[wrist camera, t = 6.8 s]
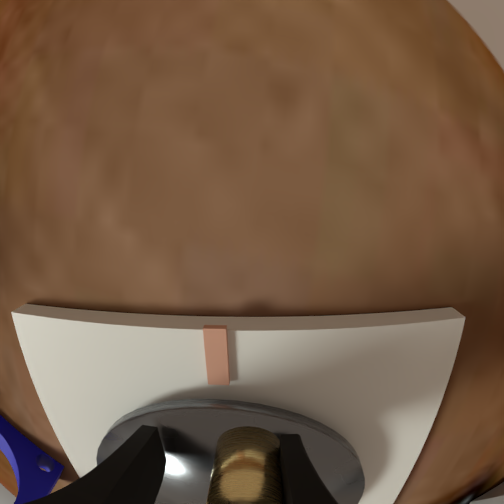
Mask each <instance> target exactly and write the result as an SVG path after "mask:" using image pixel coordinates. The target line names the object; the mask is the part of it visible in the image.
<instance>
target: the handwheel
mask: <svg viewBox="0 0 504 504" xmlns="http://www.w3.org/2000/svg"><path fill="white" fill-rule="evenodd" d="M141 425H147V426H154V427H158V431H159V435H160V438H161V442H162V445H163V449H164V452H165V456H166V459H167V462H166V467H165V472H164V477H163V481H162V484H161V487H160V490H159V493H158V495H157V498H156V501H155V503H154V504H283V487H282V478H281V470H280V449H279V447H280V434H299V435H300V436H301V440H302V443H303V445H304V448H305V450H306V452H307V454H308V456H309V459H310V461H311V463H312V464H313V466H314V468H315V470H316V471H317V473H318V475H319V477H320V478H321V480H322V481H323V483H324V484H325V486H326V487H327V489H328V490H329V492H330V493H331V495H332V496H333V497H334V499H335V500H336V501H337V502H338V504H358V503H359V501H360V499H361V497H362V495H363V492H364V488H365V477H364V473H363V469H362V466H361V463H360V459H359V456H358V455H357V453H356V451H355V449H354V448H353V447H352V445H351V444H350V443H349V442H348V441H347V440H346V439H345V438H344V437H342V436H341V435H340V434H339V433H337V432H336V431H335V430H333V429H331V428H329V427H328V426H326V425H324V424H322V423H321V422H319V421H316V420H314V419H311V418H309V417H306V416H304V415H301V414H298V413H295V412H291V411H288V410H285V409H282V408H277V407H272V406H268V405H263V404H258V403H251V402H244V401H237V400H223V399H184V400H172V401H166V402H161V403H155V404H151V405H148V406H144V407H141V408H138V409H136V410H134V411H132V412H129V413H127V414H125V415H124V416H122V417H121V418H120V419H118V420H117V421H116V422H115V423H114V424H113V425H112V426H111V427H110V428H109V430H108V431H107V433H106V435H105V436H104V438H103V440H102V441H101V444H100V446H99V448H98V451H97V457H96V460H97V465H99V464H100V463H101V462H103V461H104V460H105V459H106V458H107V457H108V456H110V455H111V454H112V453H113V452H114V451H115V450H116V449H117V448H118V447H120V446H121V445H122V444H123V443H124V442H125V441H126V440H127V439H128V438H129V437H130V436H131V435H132V434H133V433H134V432H135V431H136V430H137V429H138V428H139V427H140V426H141Z"/></svg>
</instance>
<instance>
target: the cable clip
mask: <svg viewBox="0 0 504 504" xmlns="http://www.w3.org/2000/svg"><path fill="white" fill-rule="evenodd" d="M0 449H1V451H2V452H3V453H4V454H5V456H6V457H7V459H8V461H9V462H10V464H11V466H12V468H13V470H14V473H15V476H16V479H17V483H18V495H17V498H16V501H15V502H14V504H23V503H26V502H30V501H33V500H36V499H39V498H42V497H44V496H47V495H49V494H50V492H51V491H52V489H53V487H54V486H55V484H56V483H57V481H58V479H59V477H60V475H61V473H62V471H63V468H64V466H63V465H61V464H60V463H59V462H57V461H56V460H54V459H53V458H52V457H50V456H49V455H48V454H46V453H45V452H44V451H42V450H41V449H40V448H38V447H37V446H36V445H35V444H33V443H32V442H31V441H30V440H28V439H27V438H26V437H25V436H24V435H22V434H21V433H20V432H19V431H18V430H16V429H15V428H14V427H13V426H12V425H11V424H10V423H9V422H7V421H6V420H5V419H4V418H3V417H2V416H1V415H0ZM39 467H40V468H43V469H45V470H46V471H47V472H46V471H43V470H41V469H40V468H39Z"/></svg>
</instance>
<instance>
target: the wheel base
mask: <svg viewBox="0 0 504 504" xmlns="http://www.w3.org/2000/svg"><path fill="white" fill-rule="evenodd" d="M11 313H12V317H13V321H14V324H15V328H16V332H17V335H18V339H19V342H20V345H21V349H22V352H23V355H24V358H25V361H26V364H27V367H28V369H29V372H30V375H31V378H32V380H33V383H34V386H35V388H36V391H37V393H38V396H39V398H40V401H41V403H42V405H43V408H44V410H45V412H46V414H47V417H48V419H49V421H50V423H51V425H52V427H53V429H54V431H55V433H56V435H57V437H58V439H59V441H60V443H61V445H62V447H63V449H64V451H65V453H66V455H67V456H68V458H69V460H70V462H71V464H72V465H73V467H74V469H75V470H76V472H77V474H78V475H79V477H80V478H81V477H82V476H84V475H85V474H87V473H88V472H90V471H91V470H92V469H94V468H95V467H96V466H97V460H96V457H97V451H98V448H99V446H100V444H101V441H102V440H103V438H104V436H105V435H106V433H107V431H108V430H109V428H110V427H111V426H112V425H113V424H114V423H115V422H116V421H117V420H118V419H120V418H121V417H122V416H124V415H125V414H127V413H129V412H132V411H134V410H136V409H138V408H141V407H144V406H148V405H151V404H155V403H161V402H166V401H172V400H184V399H223V400H237V401H244V402H251V403H258V404H263V405H268V406H272V407H277V408H282V409H285V410H288V411H291V412H295V413H298V414H301V415H304V416H306V417H309V418H311V419H314V420H316V421H319V422H321V423H322V424H324V425H326V426H328V427H329V428H331V429H333V430H335V431H336V432H337V433H339V434H340V435H341V436H342V437H344V438H345V439H346V440H347V441H348V442H349V443H350V444H351V445H352V447H353V448H354V449H355V451H356V453H357V455H358V456H359V459H360V463H361V466H362V469H363V473H364V477H365V488H364V492H363V495H362V497H361V499H360V501H359V503H358V504H393V503H394V501H395V499H396V498H397V496H398V494H399V493H400V491H401V489H402V487H403V485H404V484H405V482H406V480H407V478H408V476H409V474H410V472H411V470H412V468H413V466H414V464H415V462H416V460H417V458H418V456H419V454H420V452H421V450H422V447H423V445H424V443H425V441H426V439H427V436H428V434H429V432H430V429H431V427H432V424H433V422H434V419H435V417H436V414H437V412H438V409H439V407H440V404H441V401H442V398H443V395H444V393H445V390H446V387H447V384H448V381H449V378H450V374H451V371H452V368H453V365H454V361H455V358H456V354H457V351H458V347H459V343H460V339H461V335H462V331H463V327H464V322H465V318H466V317H465V316H463V315H462V314H461V313H459V312H458V311H457V310H455V309H454V308H452V307H447V308H437V309H426V310H414V311H402V312H387V313H371V314H352V315H329V316H292V317H216V316H179V315H155V314H136V313H120V312H106V311H93V310H81V309H70V308H60V307H50V306H41V305H33V304H24V305H22V306H21V307H19V308H17V309H16V310H14V311H12V312H11Z"/></svg>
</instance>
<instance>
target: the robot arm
mask: <svg viewBox="0 0 504 504" xmlns="http://www.w3.org/2000/svg"><path fill="white" fill-rule="evenodd" d="M279 449H280V470H281V478H282V487H283V504H338V502H337V501H336V500H335V499H334V497H333V496H332V495H331V493H330V492H329V490H328V489H327V487H326V486H325V484H324V483H323V481H322V480H321V478H320V477H319V475H318V473H317V471H316V470H315V468H314V466H313V464H312V463H311V461H310V459H309V456H308V454H307V452H306V450H305V448H304V445H303V443H302V440H301V436H300V435H299V434H280V447H279ZM166 462H167V459H166V456H165V452H164V449H163V445H162V442H161V438H160V435H159V431H158V427H154V426H147V425H141V426H140V427H139V428H138V429H137V430H136V431H135V432H134V433H133V434H132V435H131V436H130V437H129V438H128V439H127V440H126V441H125V442H124V443H123V444H122V445H121V446H120V447H118V448H117V449H116V450H115V451H114V452H113V453H112V454H111V455H110V456H108V457H107V458H106V459H105V460H104V461H103V462H101V463H100V464H99V465H97V466H96V467H95V468H94V469H92V470H91V471H90V472H88V473H87V474H85V475H84V476H82V477H81V478H79V479H78V480H76V481H75V482H73V483H71V484H69V485H68V486H66V487H64V488H62V489H60V490H58V491H56V492H54V493H51V494H49V495H47V496H44V497H42V498H39V499H36V500H33V501H30V502H26V503H23V504H154V503H155V501H156V498H157V495H158V493H159V490H160V487H161V484H162V481H163V477H164V472H165V467H166Z"/></svg>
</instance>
